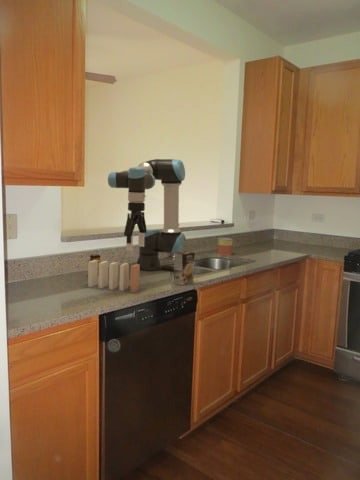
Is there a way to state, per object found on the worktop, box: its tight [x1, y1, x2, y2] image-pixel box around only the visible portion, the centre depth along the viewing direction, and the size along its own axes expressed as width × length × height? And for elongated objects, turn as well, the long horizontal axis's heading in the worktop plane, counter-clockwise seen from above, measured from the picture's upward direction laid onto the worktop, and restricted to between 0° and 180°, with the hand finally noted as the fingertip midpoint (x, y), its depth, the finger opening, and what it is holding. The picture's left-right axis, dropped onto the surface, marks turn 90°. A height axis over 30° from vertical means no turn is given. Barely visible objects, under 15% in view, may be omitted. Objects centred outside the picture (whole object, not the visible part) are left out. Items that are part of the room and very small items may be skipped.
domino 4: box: [119, 262, 130, 291], centre depth 186 cm, size 2×6×12 cm, turn 163°
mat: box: [80, 283, 148, 295], centre depth 189 cm, size 11×30×1 cm, turn 73°
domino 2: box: [98, 260, 109, 288], centre depth 190 cm, size 2×6×12 cm, turn 162°
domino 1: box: [87, 260, 98, 287], centre depth 191 cm, size 2×6×12 cm, turn 162°
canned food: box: [216, 237, 234, 256], centre depth 299 cm, size 11×11×12 cm
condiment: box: [88, 253, 102, 270], centre depth 211 cm, size 7×8×12 cm
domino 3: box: [108, 261, 119, 289], centre depth 188 cm, size 2×6×12 cm, turn 163°
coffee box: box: [172, 250, 196, 286], centre depth 205 cm, size 9×6×16 cm
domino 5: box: [129, 263, 141, 292], centre depth 185 cm, size 2×6×12 cm, turn 163°
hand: (135, 248), depth 183 cm, fingers open, 13 cm apart
